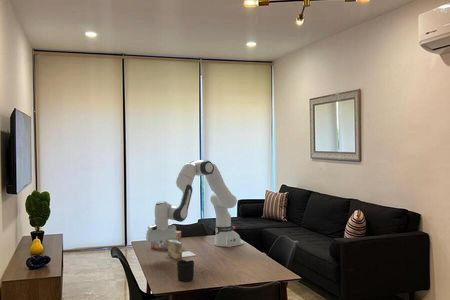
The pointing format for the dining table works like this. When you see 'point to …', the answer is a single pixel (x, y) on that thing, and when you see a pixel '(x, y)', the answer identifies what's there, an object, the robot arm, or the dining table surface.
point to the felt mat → (187, 254)
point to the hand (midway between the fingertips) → (161, 246)
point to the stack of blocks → (155, 244)
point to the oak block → (175, 249)
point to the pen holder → (185, 270)
